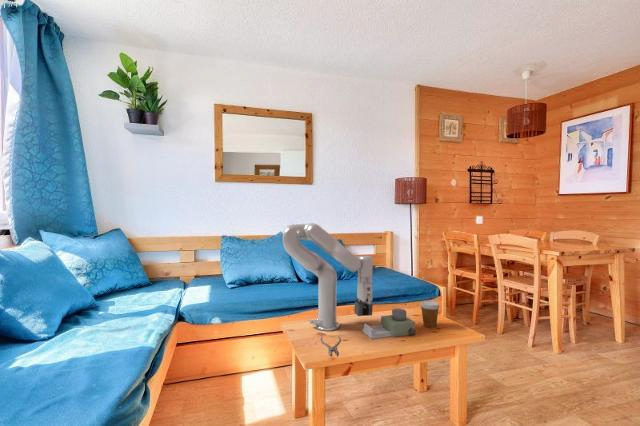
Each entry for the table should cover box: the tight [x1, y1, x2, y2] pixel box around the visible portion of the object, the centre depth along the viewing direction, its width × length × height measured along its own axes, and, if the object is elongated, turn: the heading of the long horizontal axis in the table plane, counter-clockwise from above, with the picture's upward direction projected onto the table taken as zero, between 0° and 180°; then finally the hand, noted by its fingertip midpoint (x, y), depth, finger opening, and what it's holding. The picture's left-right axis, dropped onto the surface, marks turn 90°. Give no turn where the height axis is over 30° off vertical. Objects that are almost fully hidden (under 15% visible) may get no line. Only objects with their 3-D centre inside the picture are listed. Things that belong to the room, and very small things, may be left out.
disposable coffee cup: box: [420, 300, 440, 329], centre depth 157 cm, size 10×10×12 cm
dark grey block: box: [354, 301, 373, 317], centre depth 159 cm, size 8×5×6 cm, turn 107°
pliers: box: [320, 336, 341, 357], centre depth 135 cm, size 10×1×20 cm
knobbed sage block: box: [362, 308, 416, 340], centre depth 149 cm, size 23×14×10 cm, turn 107°
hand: (363, 313), depth 159 cm, fingers closed on dark grey block, 5 cm apart
